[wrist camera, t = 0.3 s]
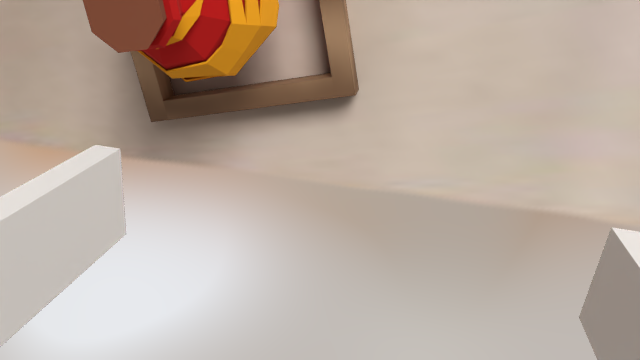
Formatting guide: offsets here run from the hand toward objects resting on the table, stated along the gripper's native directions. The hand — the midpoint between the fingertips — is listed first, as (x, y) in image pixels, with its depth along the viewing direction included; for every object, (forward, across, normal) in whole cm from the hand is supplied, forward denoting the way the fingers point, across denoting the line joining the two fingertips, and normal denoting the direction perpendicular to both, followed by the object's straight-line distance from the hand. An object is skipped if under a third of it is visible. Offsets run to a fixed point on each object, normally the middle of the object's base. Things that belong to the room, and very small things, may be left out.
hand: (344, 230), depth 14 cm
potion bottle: (+26, -13, +4) cm, 30 cm away
